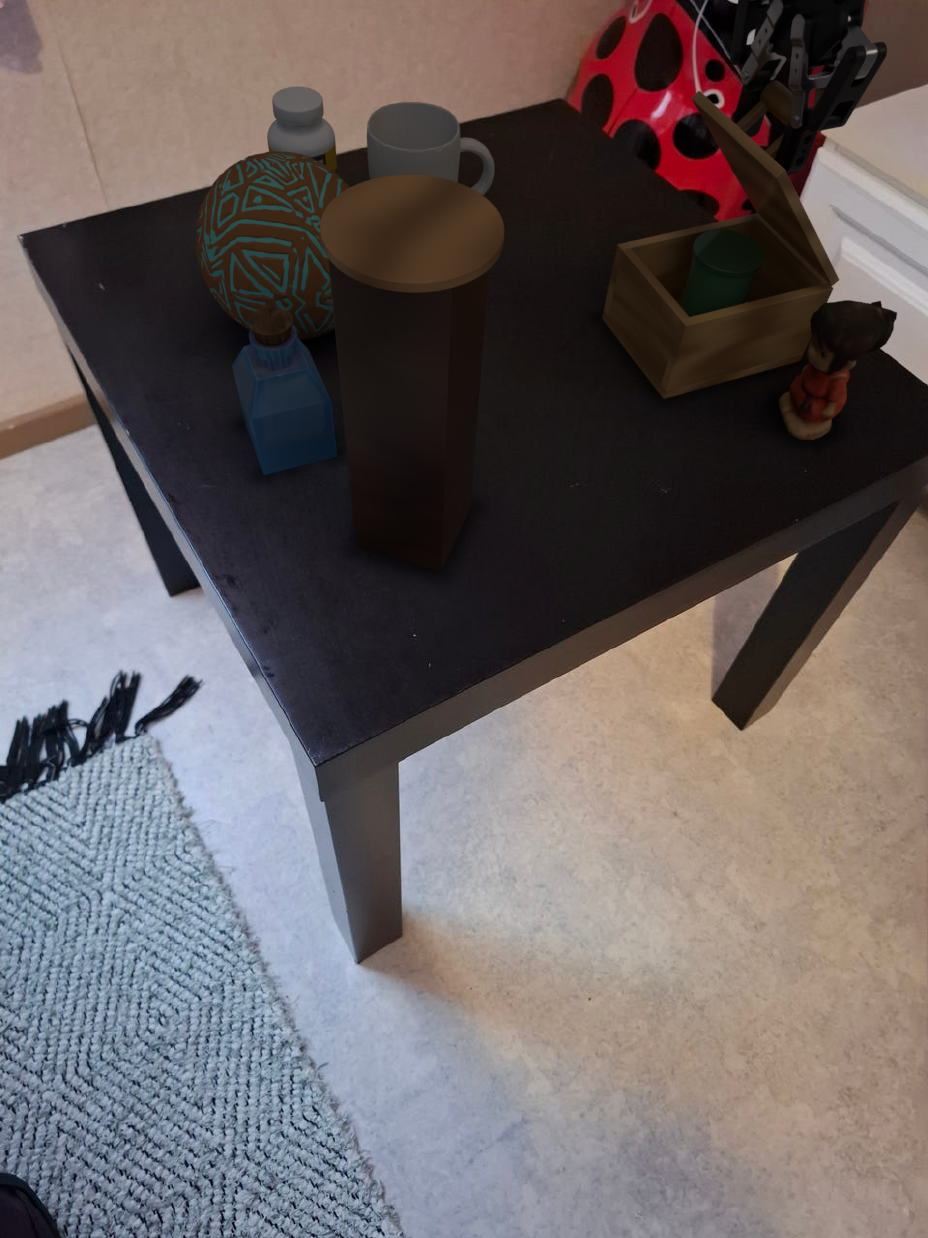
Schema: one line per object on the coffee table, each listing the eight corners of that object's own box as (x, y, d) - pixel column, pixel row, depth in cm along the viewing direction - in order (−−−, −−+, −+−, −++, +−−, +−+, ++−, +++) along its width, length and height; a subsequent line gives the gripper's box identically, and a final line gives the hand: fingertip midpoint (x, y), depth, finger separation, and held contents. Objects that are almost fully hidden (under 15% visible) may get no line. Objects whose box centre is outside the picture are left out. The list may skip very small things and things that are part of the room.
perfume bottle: (337, 456, 73) (324, 338, 63) (263, 475, 71) (238, 356, 61) (315, 406, 76) (300, 286, 66) (244, 423, 74) (217, 303, 64)
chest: (663, 399, 78) (685, 325, 72) (601, 318, 84) (617, 243, 77) (800, 361, 82) (833, 287, 75) (732, 286, 88) (757, 212, 81)
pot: (739, 320, 83) (769, 238, 76) (729, 360, 80) (759, 279, 73) (676, 304, 84) (700, 222, 77) (663, 343, 81) (687, 261, 74)
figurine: (800, 384, 80) (855, 268, 70) (850, 419, 78) (914, 304, 68) (756, 413, 78) (806, 297, 68) (806, 450, 75) (865, 336, 65)
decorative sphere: (183, 313, 82) (140, 153, 69) (314, 253, 88) (296, 96, 75) (276, 401, 76) (248, 243, 63) (409, 330, 82) (408, 173, 69)
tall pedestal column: (494, 499, 71) (527, 197, 49) (453, 594, 65) (469, 301, 44) (379, 465, 72) (362, 158, 51) (329, 555, 67) (288, 255, 46)
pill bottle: (291, 239, 89) (276, 122, 79) (268, 206, 92) (251, 89, 82) (351, 224, 91) (343, 108, 81) (326, 192, 94) (316, 76, 84)
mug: (378, 252, 88) (375, 153, 80) (363, 202, 93) (358, 103, 85) (501, 240, 90) (509, 142, 82) (480, 191, 95) (486, 94, 87)
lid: (775, 177, 63) (838, 118, 61) (690, 97, 69) (745, 41, 67) (831, 286, 75) (886, 240, 73) (755, 211, 81) (804, 166, 79)
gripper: (980, -82, 51) (858, 194, 66) (834, -164, 59) (753, 101, 73) (877, -68, 50) (775, 213, 64) (739, -155, 57) (675, 115, 71)
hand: (764, 152), depth 68 cm, fingers closed on lid, 5 cm apart
